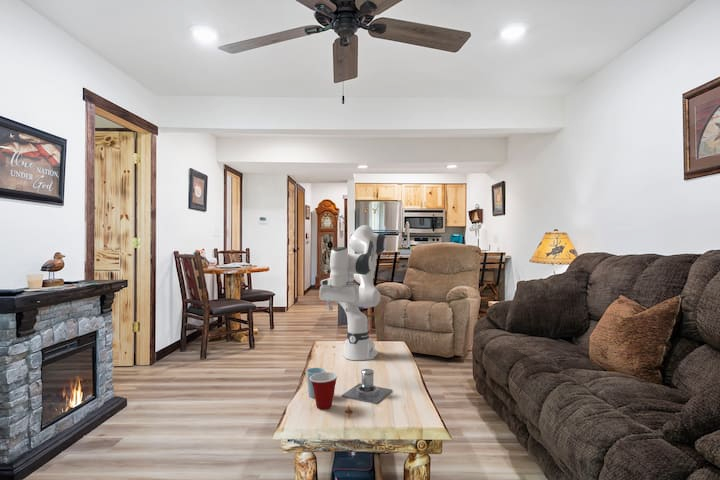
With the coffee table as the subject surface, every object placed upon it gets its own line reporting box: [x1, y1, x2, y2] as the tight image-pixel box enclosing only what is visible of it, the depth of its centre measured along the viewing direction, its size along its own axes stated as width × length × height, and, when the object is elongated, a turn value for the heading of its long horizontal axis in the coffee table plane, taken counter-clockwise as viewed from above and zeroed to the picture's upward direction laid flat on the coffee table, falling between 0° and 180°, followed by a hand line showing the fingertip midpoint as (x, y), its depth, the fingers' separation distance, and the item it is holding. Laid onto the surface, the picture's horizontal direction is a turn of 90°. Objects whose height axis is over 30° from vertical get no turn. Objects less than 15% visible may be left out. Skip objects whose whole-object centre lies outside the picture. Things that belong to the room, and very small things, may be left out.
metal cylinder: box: [360, 368, 375, 392], centre depth 169 cm, size 5×5×9 cm
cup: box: [305, 367, 326, 399], centre depth 166 cm, size 8×8×10 cm
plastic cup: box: [310, 371, 339, 411], centre depth 155 cm, size 11×11×12 cm
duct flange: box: [341, 383, 393, 405], centre depth 169 cm, size 16×16×2 cm
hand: (339, 311), depth 189 cm, fingers open, 8 cm apart
